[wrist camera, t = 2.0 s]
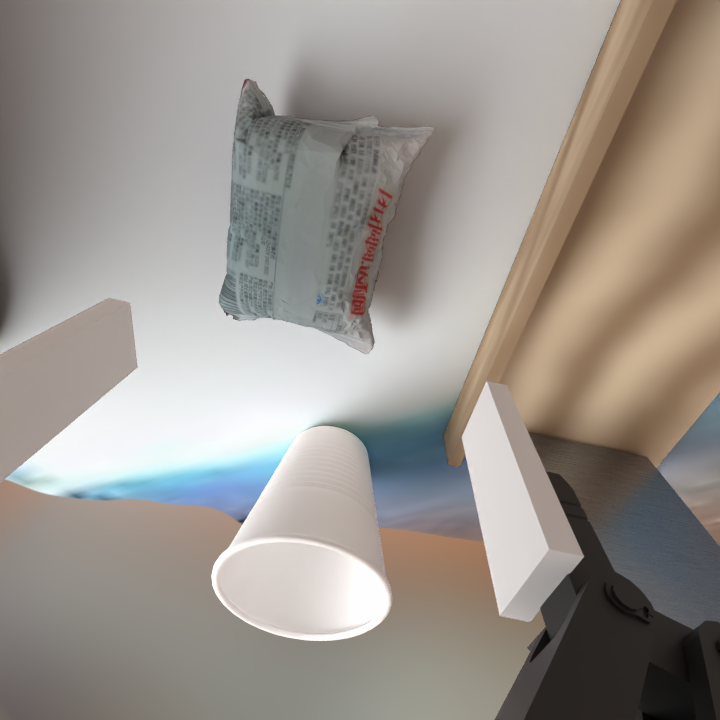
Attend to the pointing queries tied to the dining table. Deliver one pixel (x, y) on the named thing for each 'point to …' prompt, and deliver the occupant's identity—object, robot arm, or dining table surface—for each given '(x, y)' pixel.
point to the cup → (310, 545)
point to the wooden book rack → (620, 251)
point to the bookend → (642, 527)
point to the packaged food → (311, 216)
